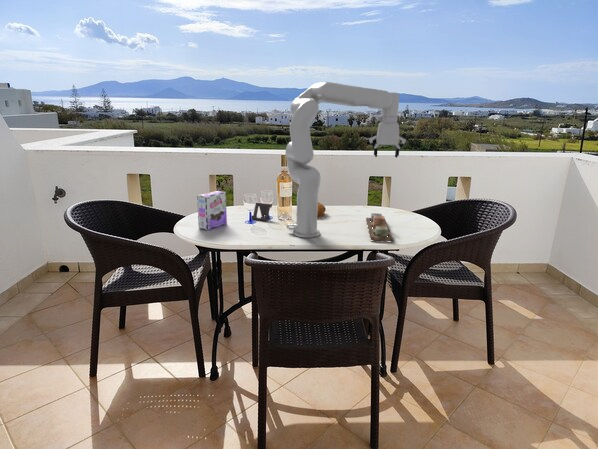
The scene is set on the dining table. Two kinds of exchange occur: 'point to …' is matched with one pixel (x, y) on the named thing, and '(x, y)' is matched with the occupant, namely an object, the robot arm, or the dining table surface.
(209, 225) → the candy box
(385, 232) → the walnut puzzle base
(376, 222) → the terracotta block
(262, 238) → the dining table surface
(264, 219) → the portable electronic device stand
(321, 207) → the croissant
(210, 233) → the dining table surface
